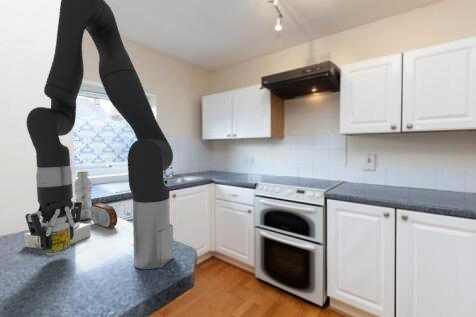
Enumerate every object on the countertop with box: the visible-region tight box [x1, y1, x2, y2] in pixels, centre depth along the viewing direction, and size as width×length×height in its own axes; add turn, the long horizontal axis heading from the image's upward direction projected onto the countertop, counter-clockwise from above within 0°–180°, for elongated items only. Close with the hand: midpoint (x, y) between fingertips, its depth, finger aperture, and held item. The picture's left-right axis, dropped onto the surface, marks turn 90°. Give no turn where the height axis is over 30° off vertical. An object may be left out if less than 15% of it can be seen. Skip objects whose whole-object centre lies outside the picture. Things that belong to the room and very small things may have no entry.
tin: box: [90, 202, 118, 229], centre depth 89 cm, size 15×3×8 cm, turn 58°
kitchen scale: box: [24, 222, 91, 250], centre depth 75 cm, size 12×12×5 cm
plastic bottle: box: [74, 171, 93, 221], centre depth 96 cm, size 6×7×20 cm
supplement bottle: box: [45, 216, 72, 256], centre depth 63 cm, size 5×5×10 cm
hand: (58, 244), depth 63 cm, fingers closed on supplement bottle, 5 cm apart
